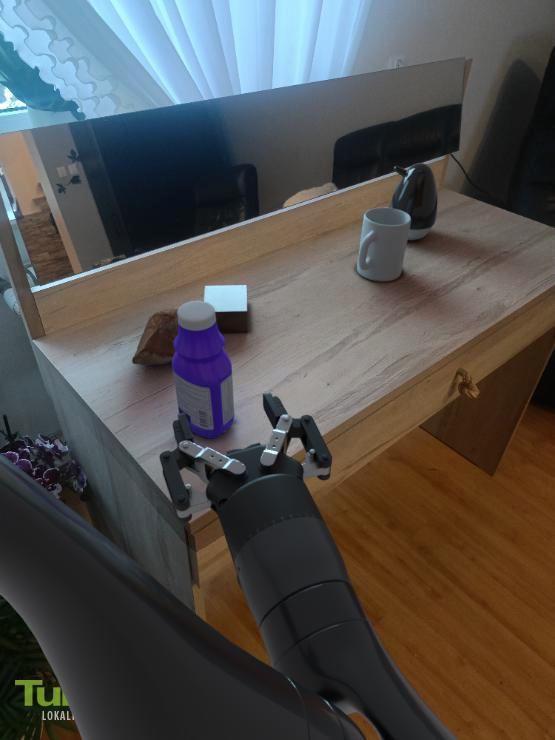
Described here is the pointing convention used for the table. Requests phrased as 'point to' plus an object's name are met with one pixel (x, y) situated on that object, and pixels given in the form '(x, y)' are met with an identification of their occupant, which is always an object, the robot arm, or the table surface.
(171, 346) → the fossil
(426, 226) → the pump dispenser
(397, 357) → the table surface
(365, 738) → the robot arm
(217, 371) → the bottle
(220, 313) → the walnut block
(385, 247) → the mug
